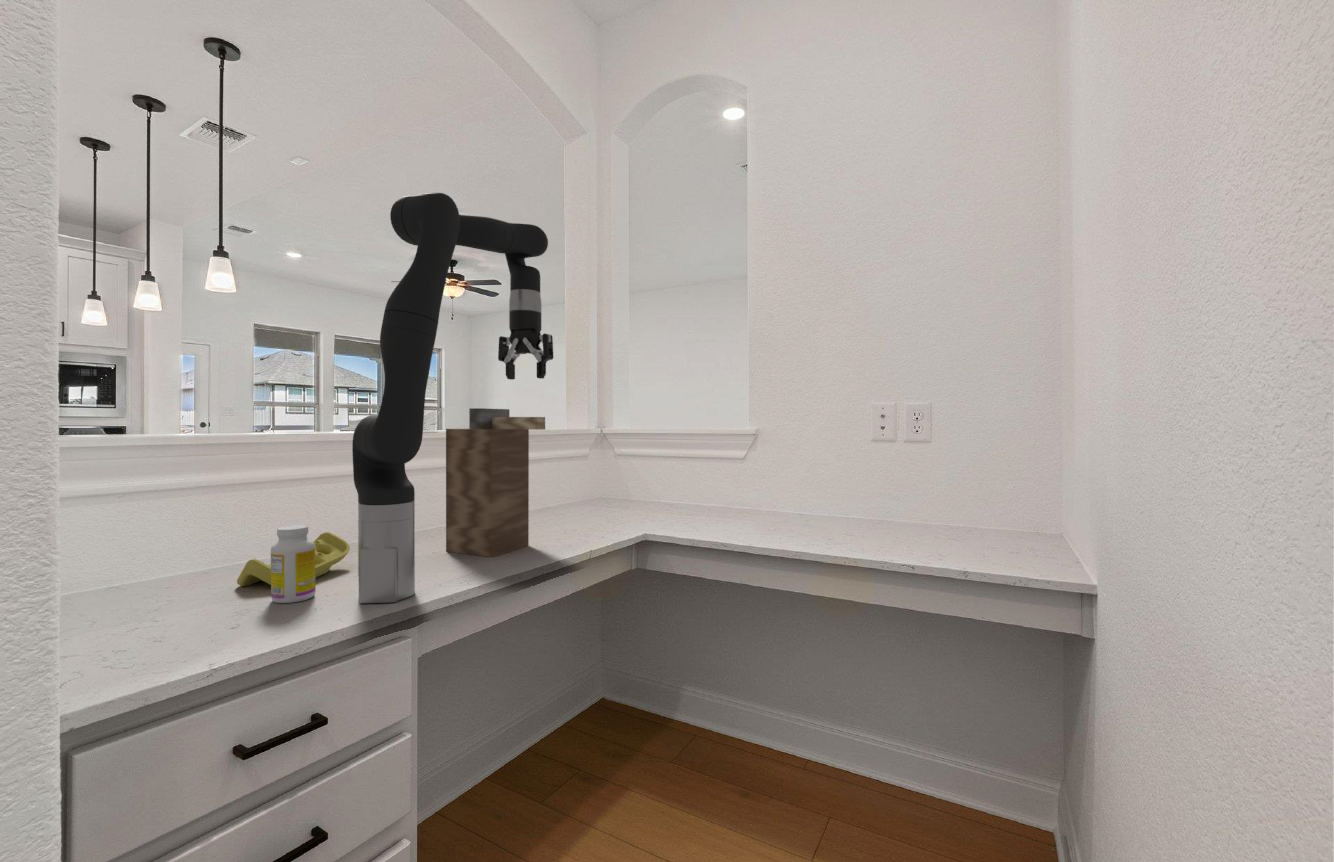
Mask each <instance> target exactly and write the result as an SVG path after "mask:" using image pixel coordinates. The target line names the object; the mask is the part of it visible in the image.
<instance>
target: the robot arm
mask: <svg viewBox="0 0 1334 862" xmlns="http://www.w3.org/2000/svg"><path fill="white" fill-rule="evenodd" d="M389 218H390V223H391V225H392V229H393V231H394V233H396V235H397V236H398V238H400V239H401V240H402V241H403V242H405V243H407V244H410V245H412V246H417V248H416V253H415V255H414V258H413V261H412V263H411V265H410V267H409V268H408V270H407V271H406V273H405V274H404V275H403V277H402V278H401V279H400V281H399V283H398V284H397V285H396V286H395V288H394V289H393V291H392V292H391V294H390V296H389V297H388V299H387V301H386V303H385V306H384V311H383V317H382V324H381V327H380V335H379V345H380V346H379V347H380V354H381V360H382V365H383V372H384V388H383V394H382V397H381V398H382V399H381V403H380V408H379V410H378V413H373V414H370V415H367V416H365V417H363V418H362V419H361V420H360V421H359V423H358V424H357V425H356V427H355V429H354V432H353V435H352V447H351V448H352V450H351V452H352V472H353V473H352V474H353V484H354V487H355V490H356V492H357V502H358V505H357V506H358V508H357V509H358V510H357V512H358V519H357V523H358V524H357V528H358V533H357V534H358V535H357V536H358V539H357V541H358V546H357V547H358V549H357V551H358V561H357V562H358V568H357V569H358V573H357V575H358V577H357V578H358V601H359V604H379V603H380V604H382V603H383V604H384V603H397V602H398V601H400V600H403V599H407V598H409V597H411V596H413V595H414V594H415V592H416V591H415V590H416V585H415V583H416V581H415V579H416V578H415V577H416V575H415V574H416V572H415V571H416V570H415V569H416V568H415V567H416V566H415V564H416V563H415V557H416V556H415V547H416V546H415V540H416V539H415V497H416V495H415V487H414V484H413V483H412V482H411V481H410V480H409V478H408V476H407V473H406V464H407V463H409V462H411V460H413V459H414V458H415V457H416V456H417V455H418V452H419V451H420V448H421V445H422V442H423V433H424V418H425V403H426V394H427V393H426V392H427V386H428V380H429V377H430V376H429V375H430V370H431V364H432V357H433V353H434V352H433V350H434V347H435V343H436V337H437V332H438V326H439V319H440V314H441V313H440V312H441V311H440V310H441V306H442V300H443V295H444V290H445V286H446V282H447V277H448V274H449V273H448V272H449V270H450V265H451V262H452V259H453V256H454V255H453V254H454V252H455V249H456V246H459V247H460V246H461V247H465V248H470V249H475V250H482V251H487V252H491V253H496V254H504V255H505V260H506V262H507V263H506V264H507V266H508V271H509V276H510V278H509V279H510V281H509V282H510V283H509V285H510V286H509V287H510V291H509V293H510V294H509V299H508V300H509V301H508V302H509V303H508V308H509V309H508V310H509V315H508V320H509V321H508V323H509V325H508V326H509V327H508V328H509V331H510V334H509V337H508V336H507V337H506V336H502V335H501V336H499V337H498V351H497V353H498V354H497V355H498V356H497V360H498V361H499V362H502V363H504V364H505V377H506V379H507V380H511V381H512V380H515V379H516V363H515V362H516V360H518V358H519V357H520V356H521V355H527V354H530V355H533V356H534V358H535V359H536V378H537V379H545V377H546V375H547V362H548V361H552V360H553V359H554V341H553V335H552V334H548V333H543V334H541V331H542V298H541V273H540V271H539V269H538V268H537V267H534V266H531V265H527V264H526V261H525V260H526V259H527V258H528V259H529V258H535V257H536V258H537V257H540V256H542V255H544V254H545V253H546V251H547V249H548V247H549V240H548V236H547V234H546V233H545V231H544V230H543V229H542V228H540V227H539V226H537V225H535V224H529V223H517V222H516V223H515V222H514V223H513V222H508V221H504V220H501V219H497V218H494V217H493V218H492V217H490V216H482V215H481V216H479V215H467V214H466V215H465V214H460V213H459V208H458V206H457V203H456V202H455V201H454V199H453V198H452V197H451V196H450V195H448V194H446V193H444V192H437V191H436V192H425V193H417V194H410V195H405V196H402V197H400V198H398V199H397V200H396V201H395V202H394V203H393V204H392V206H391V209H390V217H389ZM541 343H542V348H541V346H540V345H541ZM510 345H511V346H510Z"/></svg>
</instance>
